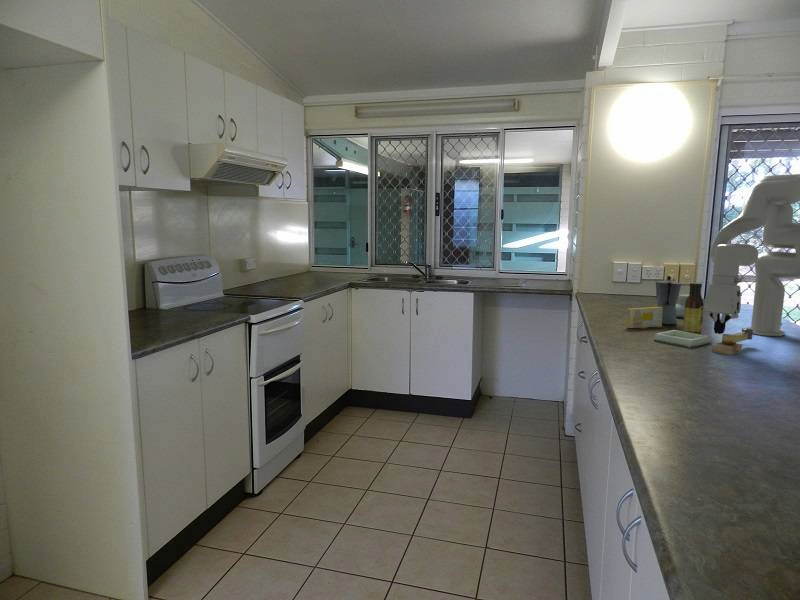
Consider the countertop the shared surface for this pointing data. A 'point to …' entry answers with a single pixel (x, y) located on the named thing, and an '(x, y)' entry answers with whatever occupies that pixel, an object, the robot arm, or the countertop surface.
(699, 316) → the sauce bottle
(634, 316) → the candy box
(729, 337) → the lever
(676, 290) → the moka pot
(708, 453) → the countertop surface
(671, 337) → the tray
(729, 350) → the orange brown block
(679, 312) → the air freshener
